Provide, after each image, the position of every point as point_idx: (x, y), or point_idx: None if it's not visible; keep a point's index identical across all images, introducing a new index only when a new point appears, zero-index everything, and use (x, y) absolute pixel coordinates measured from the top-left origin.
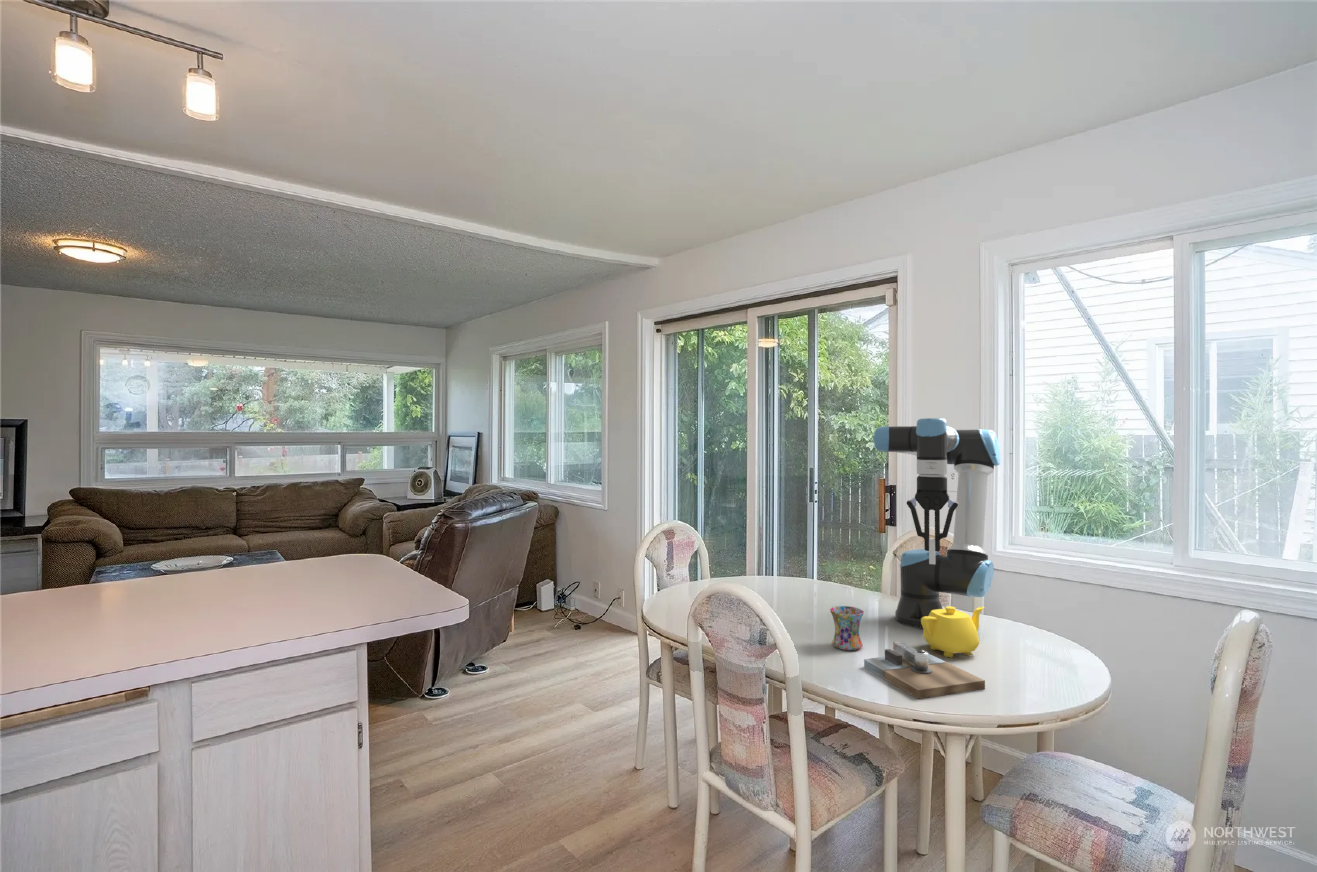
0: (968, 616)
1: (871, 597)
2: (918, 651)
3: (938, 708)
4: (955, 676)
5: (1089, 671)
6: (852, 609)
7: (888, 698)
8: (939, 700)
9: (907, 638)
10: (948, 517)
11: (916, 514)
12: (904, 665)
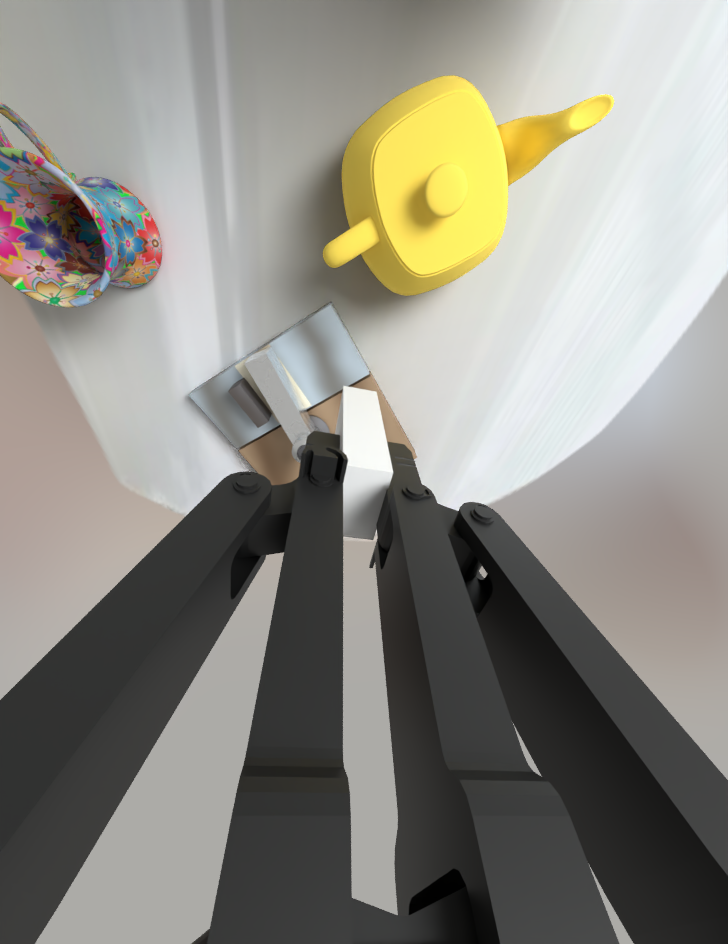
0: (493, 231)
1: None
2: (299, 458)
3: None
4: None
5: (686, 308)
6: (45, 171)
7: None
8: None
9: (298, 60)
10: (557, 776)
11: (115, 803)
12: (276, 419)
